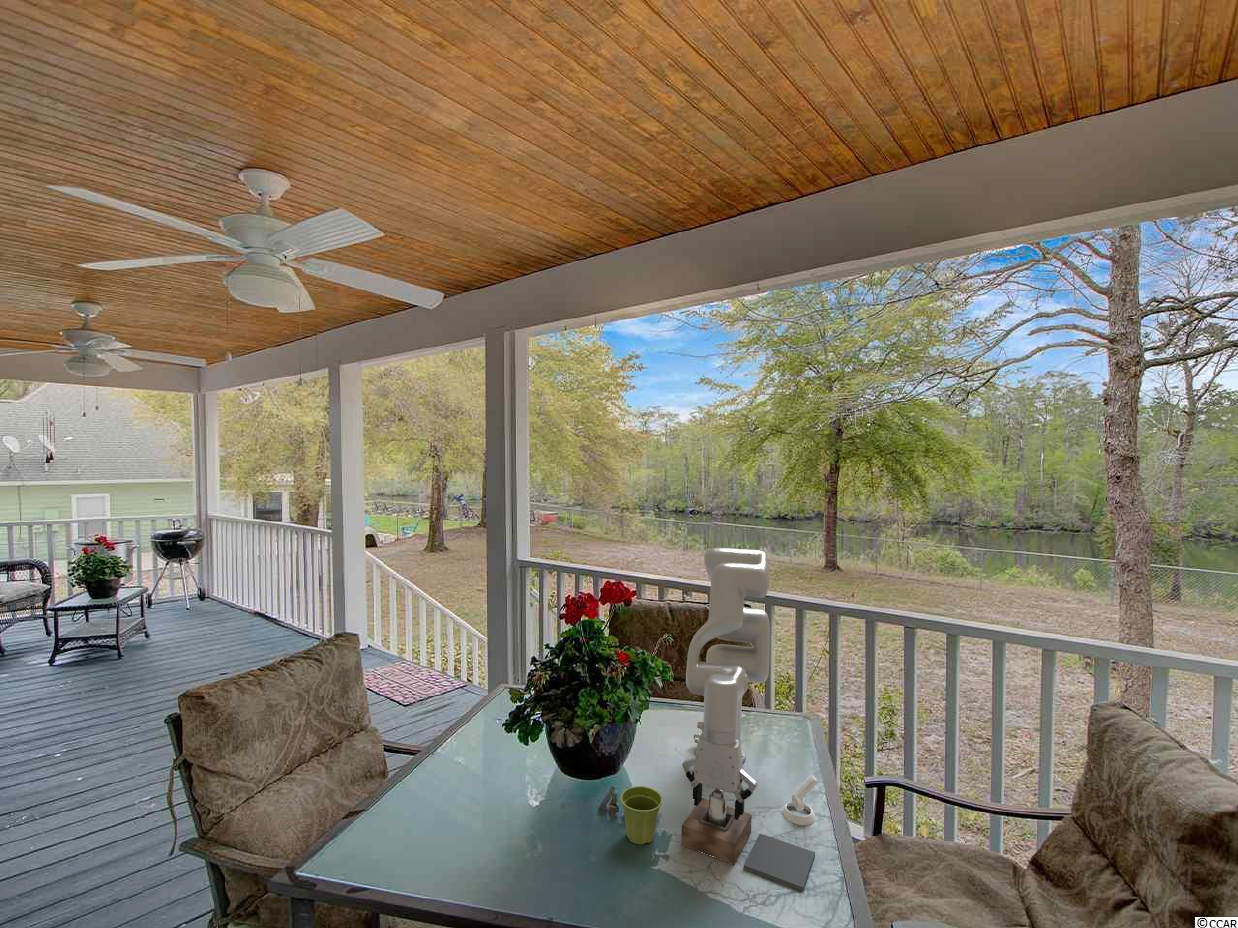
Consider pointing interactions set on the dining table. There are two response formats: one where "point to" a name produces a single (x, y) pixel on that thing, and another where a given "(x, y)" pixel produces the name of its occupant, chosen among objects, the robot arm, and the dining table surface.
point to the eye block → (716, 833)
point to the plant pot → (641, 813)
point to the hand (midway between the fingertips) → (717, 809)
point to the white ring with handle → (801, 803)
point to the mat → (780, 861)
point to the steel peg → (717, 807)
